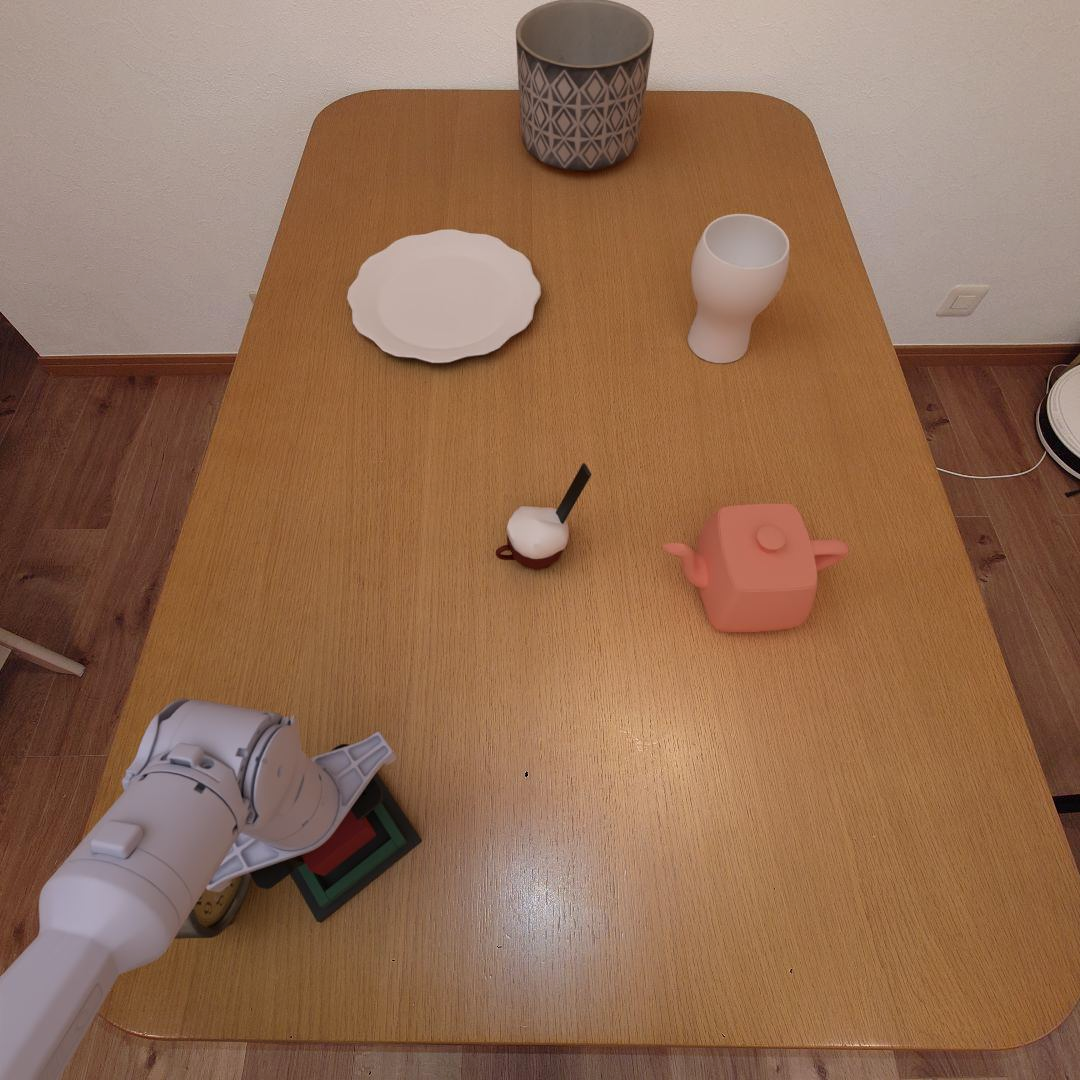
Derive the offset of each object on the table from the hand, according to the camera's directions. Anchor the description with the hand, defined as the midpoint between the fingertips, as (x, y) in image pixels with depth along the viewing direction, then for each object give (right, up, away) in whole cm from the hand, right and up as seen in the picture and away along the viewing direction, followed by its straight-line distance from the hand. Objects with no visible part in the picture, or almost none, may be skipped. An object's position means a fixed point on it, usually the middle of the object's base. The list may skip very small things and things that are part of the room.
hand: (331, 827), depth 58 cm
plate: (+4, +55, +38) cm, 67 cm away
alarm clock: (-10, -5, +3) cm, 11 cm away
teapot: (+37, +18, +16) cm, 45 cm away
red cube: (0, -1, +1) cm, 1 cm away
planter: (+23, +86, +56) cm, 105 cm away
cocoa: (+17, +22, +19) cm, 33 cm away
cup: (+40, +49, +34) cm, 72 cm away
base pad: (0, -2, +4) cm, 5 cm away
